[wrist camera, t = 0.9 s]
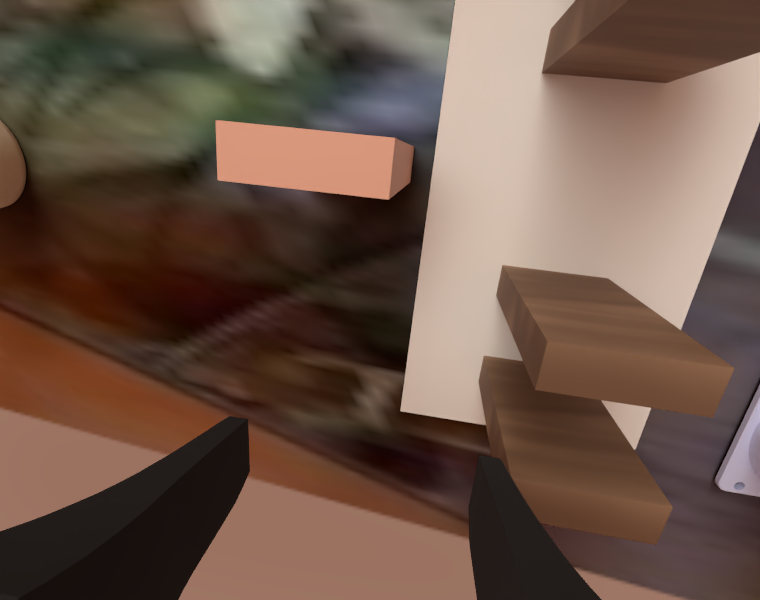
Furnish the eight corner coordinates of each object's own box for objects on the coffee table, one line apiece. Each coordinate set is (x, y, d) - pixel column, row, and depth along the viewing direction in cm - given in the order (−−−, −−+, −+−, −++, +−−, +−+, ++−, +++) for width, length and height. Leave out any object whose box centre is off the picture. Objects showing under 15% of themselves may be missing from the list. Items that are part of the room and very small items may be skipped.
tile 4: (550, 29, 17) (663, -102, 8) (679, 38, 16) (939, -92, 8) (541, 73, 17) (639, -9, 9) (666, 83, 17) (895, 7, 8)
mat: (853, -140, 14) (861, -146, 14) (632, 445, 23) (635, 449, 22) (475, -151, 15) (476, -157, 15) (400, 408, 24) (400, 411, 24)
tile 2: (502, 264, 20) (547, 341, 12) (607, 278, 20) (734, 368, 11) (495, 295, 21) (535, 389, 12) (598, 309, 20) (712, 417, 12)
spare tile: (311, 136, 20) (215, 120, 11) (414, 146, 19) (395, 137, 11) (309, 170, 20) (218, 180, 12) (410, 182, 20) (388, 199, 11)
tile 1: (483, 355, 22) (511, 479, 13) (580, 369, 21) (672, 507, 13) (478, 381, 22) (501, 516, 14) (572, 396, 22) (656, 545, 13)
